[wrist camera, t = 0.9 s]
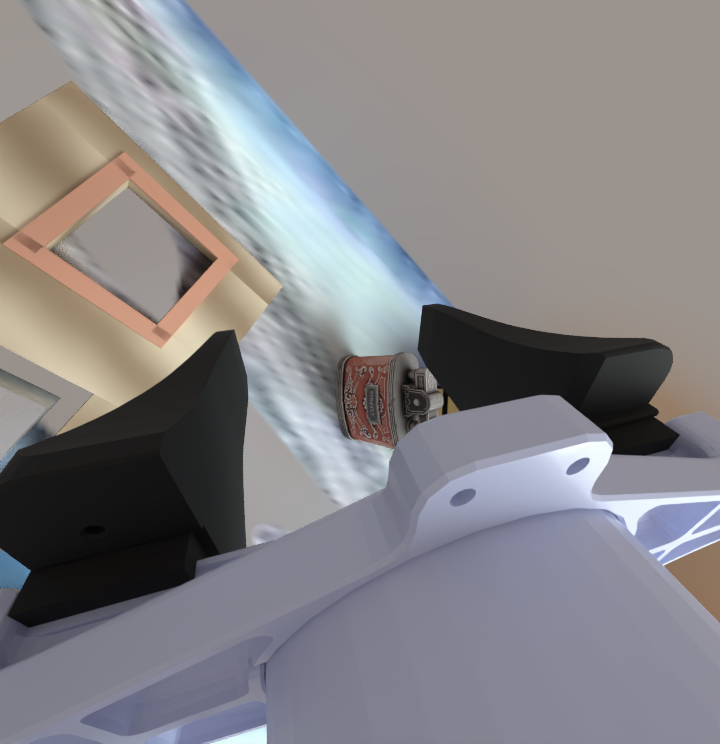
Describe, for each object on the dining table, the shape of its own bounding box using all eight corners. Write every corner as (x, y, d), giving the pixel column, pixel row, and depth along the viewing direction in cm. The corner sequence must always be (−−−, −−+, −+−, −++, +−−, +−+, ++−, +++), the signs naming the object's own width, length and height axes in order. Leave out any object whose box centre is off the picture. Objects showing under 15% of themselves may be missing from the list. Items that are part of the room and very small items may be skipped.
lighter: (333, 356, 29) (418, 351, 21) (361, 354, 31) (448, 349, 23) (339, 442, 29) (425, 468, 22) (366, 434, 32) (453, 455, 24)
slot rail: (69, 557, 18) (68, 568, 17) (-466, 422, 10) (-525, 427, 9) (277, 288, 25) (283, 285, 24) (72, 93, 18) (71, 78, 17)
